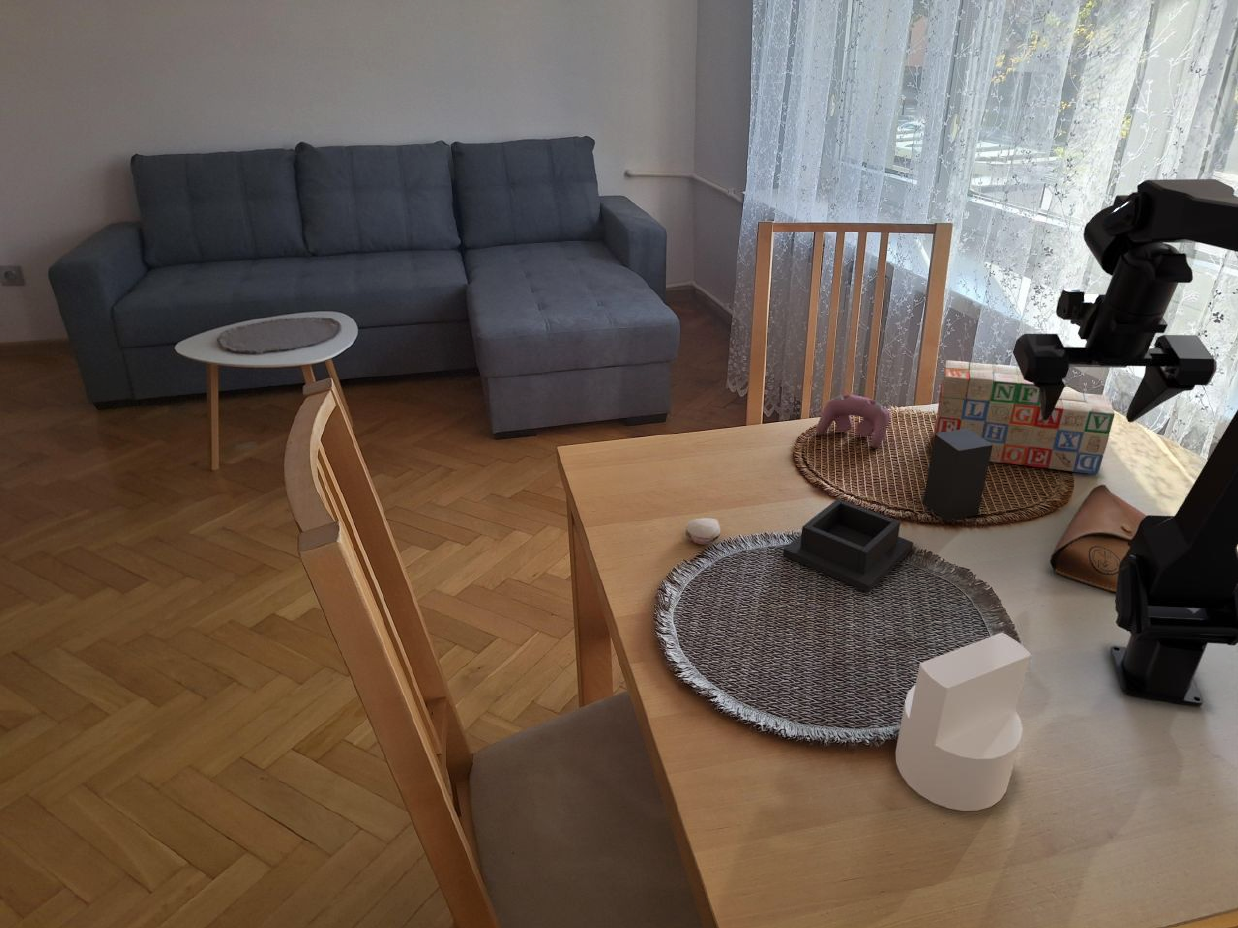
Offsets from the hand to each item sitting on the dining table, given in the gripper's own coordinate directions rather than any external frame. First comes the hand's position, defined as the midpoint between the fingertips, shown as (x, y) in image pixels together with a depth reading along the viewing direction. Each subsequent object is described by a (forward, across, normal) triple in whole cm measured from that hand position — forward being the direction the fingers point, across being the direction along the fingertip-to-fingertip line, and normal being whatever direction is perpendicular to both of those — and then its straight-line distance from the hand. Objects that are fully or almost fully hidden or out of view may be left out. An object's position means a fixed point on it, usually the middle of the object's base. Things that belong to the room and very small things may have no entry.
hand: (1086, 419), depth 95 cm
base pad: (+12, +26, +11) cm, 31 cm away
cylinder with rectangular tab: (+5, +22, +41) cm, 47 cm away
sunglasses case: (+13, -4, +8) cm, 16 cm away
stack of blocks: (+19, 0, -14) cm, 23 cm away
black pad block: (+15, +12, 0) cm, 19 cm away
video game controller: (+20, +22, -19) cm, 35 cm away
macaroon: (+13, +43, +9) cm, 46 cm away
